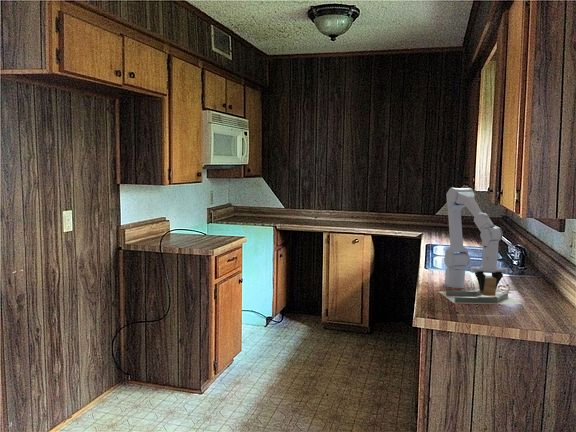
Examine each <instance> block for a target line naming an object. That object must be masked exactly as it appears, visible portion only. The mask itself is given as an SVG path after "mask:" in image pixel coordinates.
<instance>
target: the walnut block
mask: <svg viewBox="0 0 576 432" xmlns="http://www.w3.org/2000/svg"><path fill="white" fill-rule="evenodd" d="M496 279H497V278H495V277H493V276H492V275H486V276H485V280H484V289H483V291H481V290H480V293H481V294H483V295H484V296H495V293H496V292H497V288H496Z"/></svg>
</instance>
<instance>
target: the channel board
mask: <svg viewBox="0 0 576 432" xmlns="http://www.w3.org/2000/svg"><path fill="white" fill-rule="evenodd" d="M438 293H440V294H441V295H442V296H443V297H445V298H446V299H448V300H449V302H452V303H453V304H467V305H468V304H469V305H471V304H472V305H474V304H475V305H476V304H477V305H518V306H519V307H520V306H521V307H522V306H523V303H521V302H519V301H518V300H517V299H514V298H512V297H510V296H509V295H508V298H506V299H504V300H502V301H500V302H498V303H456V302H455V297H496V296H498V295H500V294H502V293H503V292H502V291H496V293H495V296H484V295H483V294H480V295H478V296H446V290H445V291H443V290H441V291H438Z"/></svg>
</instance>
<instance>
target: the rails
mask: <svg viewBox="0 0 576 432" xmlns="http://www.w3.org/2000/svg"><path fill="white" fill-rule="evenodd" d="M445 291H446V296H478V295H480V294H481V293H480V289H479V288H477V289H475V290H456V289H455V290H445ZM508 296H509V292H508V291H504V292H502V294H500V295H498V296H496V297H455V302H456V303H498V302H500V301H502V300H504V299H506V298H508ZM456 303H455V304H456Z"/></svg>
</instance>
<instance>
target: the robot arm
mask: <svg viewBox="0 0 576 432" xmlns="http://www.w3.org/2000/svg"><path fill="white" fill-rule="evenodd" d="M475 197H476V194H475V193H474V191H473V188H471V187H467V188H466V187H465V188H464V187H460V188H459V187H449V189H448V191H447V192H446V207H447V213H448V214H447V215H448V216H447V217H448V228H449V229H448V232H449V233H448V234H449V243H450V244H449V245H450V246H449V247H447V248H446V250H445V251H444V253H445V254H444V264H445V266H446V269H445V272H444V283H442V285H443V286H444V287H448V288H454V289H463V288H465V281H466V280H465V279H466V270H467V268H468V267H469V265H470V263H471V257H470V254H469V250H468V248H466V247H465V246H464V239H463V225H462V209H463V208H465V207H466V208H467V209H468V210H469V212H470V214H472V216H473V222H474V224H475V225H476V227H477V228H478V230H479V232H480V235H479V236H480V239H481V244H482V256H481V266H470V267H469V270H470V271H469V272H470V273H471V274H474V275H475V277H476V280H477V283H478V289H480V290H481V291H483V289H484V280H485V276H487V275H486V274H485V273H489V274H491V276H493V277H495V278H497V279H496V289H497V288H498V286H499V284H500V281H501V280H502V279H503V276H504V274H508V273H509V272H508V271H509V268H507V267H501V266H498V257H499V256H498V255H499V244H500V243H499V242H501V240H502V239H503V236H504V235H503V231H502V228H501V227H499V226H497V225H495V224H494V223H493V221H492V219H491V218H490V217H489V214H487V213H485V212H482V210H481V208H480V206H479V204H478V203H477V201H476V199H475Z"/></svg>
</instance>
